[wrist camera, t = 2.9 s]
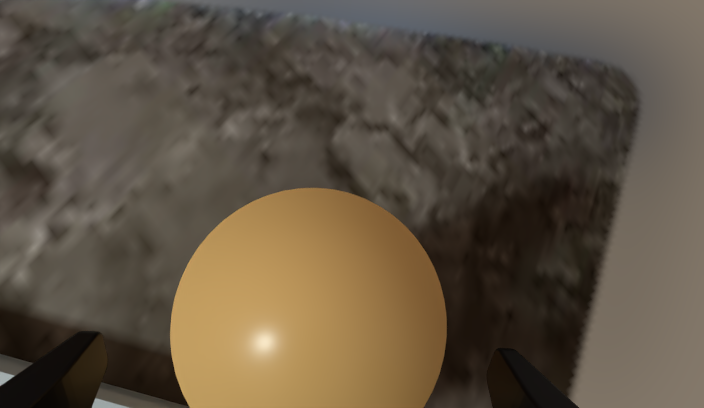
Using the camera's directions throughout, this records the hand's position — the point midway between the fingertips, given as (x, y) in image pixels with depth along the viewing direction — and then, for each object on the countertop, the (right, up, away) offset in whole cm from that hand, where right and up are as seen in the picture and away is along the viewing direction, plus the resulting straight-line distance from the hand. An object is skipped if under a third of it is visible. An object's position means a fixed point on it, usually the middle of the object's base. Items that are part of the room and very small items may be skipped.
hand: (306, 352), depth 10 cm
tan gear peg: (-1, -2, +8) cm, 8 cm away
